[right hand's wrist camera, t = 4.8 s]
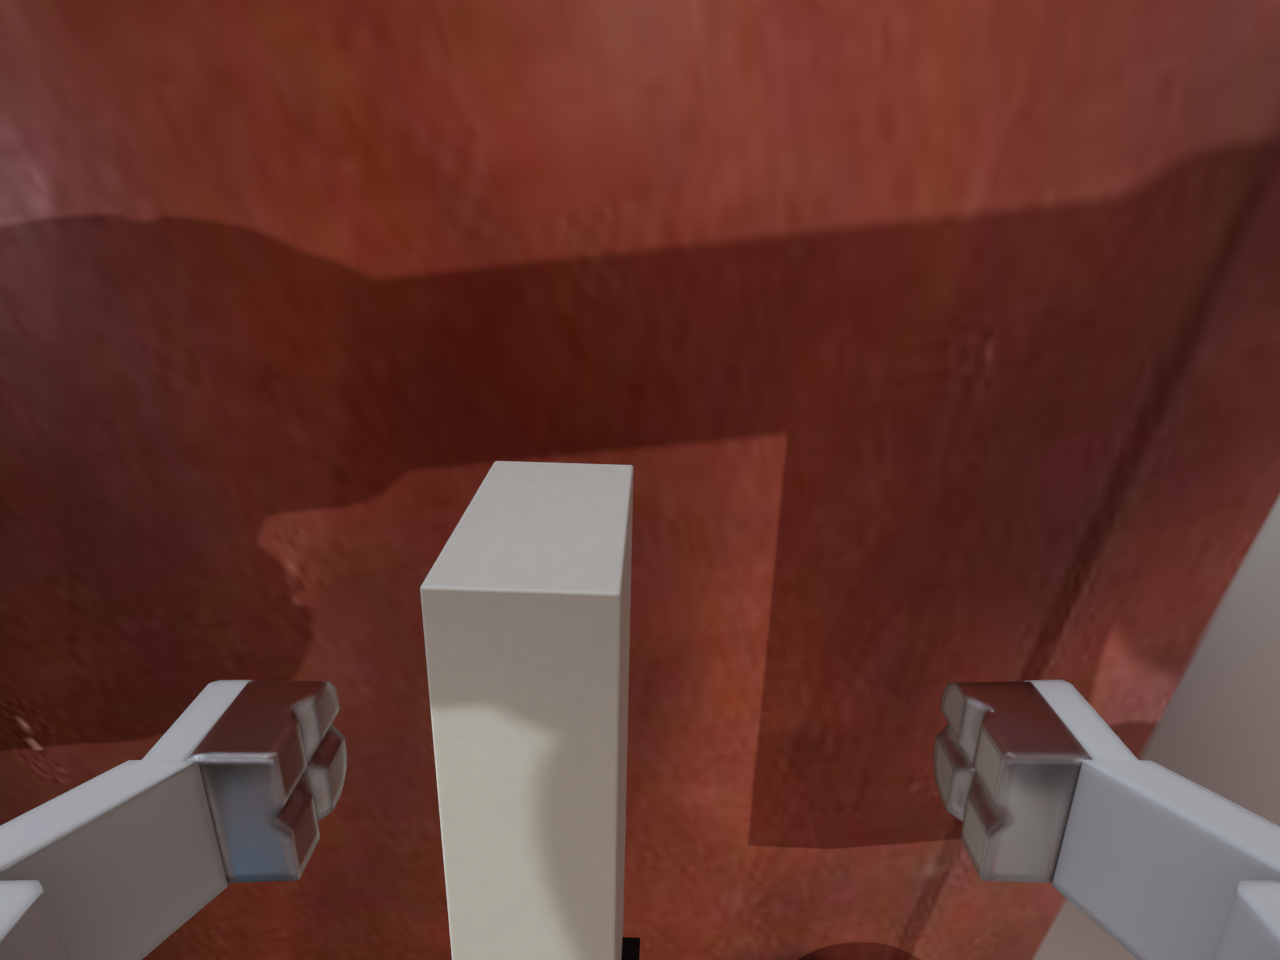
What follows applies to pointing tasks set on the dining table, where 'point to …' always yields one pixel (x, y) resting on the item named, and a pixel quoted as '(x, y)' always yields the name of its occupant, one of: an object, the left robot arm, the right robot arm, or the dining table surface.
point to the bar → (533, 711)
